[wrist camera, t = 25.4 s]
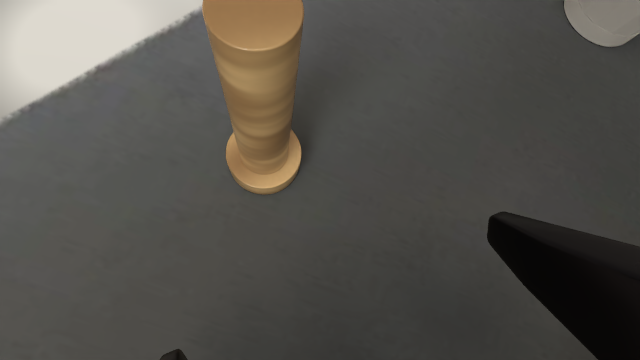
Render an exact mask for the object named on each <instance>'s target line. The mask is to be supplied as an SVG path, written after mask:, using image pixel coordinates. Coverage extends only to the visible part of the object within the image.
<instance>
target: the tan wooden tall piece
mask: <svg viewBox="0 0 640 360" xmlns="http://www.w3.org/2000/svg"><path fill="white" fill-rule="evenodd" d="M202 11H203V17H204V21H205V24H206V28H207V32H208V36H209V40H210V44H211V47H212V51H213V55H214V59H215V63H216V66H217V70H218V74H219V78H220V82H221V85H222V89H223V93H224V97H225V101H226V104H227V108H228V112H229V116H230V120H231V123H232V127H233V131H234V132H233V134H232V135H231V137H230V139H229V141H228V143H227V147H226V160H227V164H228V166H229V169H230V171H231V174H232V176H233V178H234V179H235V181H236V182H237V183H238V184H239V185H240V186H241V187H243V188H244V189H246V190H248V191H250V192H252V193H256V194H272V193H276V192H279V191H281V190H283V189H284V188H286V187H287V186H288V185H289V184H291V182H292V181H293V180H294V179H295V177H296V175H297V173H298V170H299V166H300V161H301V146H300V143H299V140H298V138H297V136H296V135H295V133H294V132H293V131H292V130H291V124H292V115H293V106H294V98H295V89H296V80H297V72H298V63H299V55H300V46H301V37H302V29H303V20H304V7H303V3H302V0H203V4H202Z"/></svg>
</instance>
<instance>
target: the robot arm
mask: <svg viewBox="0 0 640 360" xmlns="http://www.w3.org/2000/svg"><path fill="white" fill-rule="evenodd" d="M487 239H488V242H489V244H490V245H491V246H492V248H493V249H494V250H495V251H496V252H497V254H498V255H499V256H500V257H501V259H502V260H503V261H504V262H505V263H506V265H507V266H508V267H509V268H510V269H511V271H512V272H513V273H514V274H515V275H516V277H517V278H518V279H519V280H520V281H521V282H522V284H523V285H524V286H525V287H526V288H527V289H528V290H529V291H530V292H531V293H532V294H533V295H534V296H535V297H536V298H537V299H538V300H539V301H540V302H541V303H542V304H543V305H544V306H545V307H546V308H547V309H548V310H549V311H550V312H551V313H552V314H553V315H554V316H555V317H556V318H557V319H558V320H559V321H560V322H561V323H562V324H563V325H564V326H565V327H566V328H567V329H568V330H569V331H570V332H571V333H572V334H573V335H574V336H575V337H576V338H577V339H578V340H579V341H580V342H581V343H582V344H583V345H584V346H585V347H586V348H587V349H588V350H589V351H590V352H591V353H592V354H593V355H594V356H595V357H596V358H597V359H598V360H640V247H639V246H635V245H631V244H627V243H623V242H619V241H616V240H612V239H608V238H604V237H600V236H596V235H593V234H589V233H585V232H581V231H577V230H573V229H570V228H566V227H562V226H558V225H554V224H550V223H547V222H543V221H539V220H535V219H531V218H527V217H524V216H520V215H516V214H512V213H508V212H499V213H497V214H494V215H492V216H491V217H490V218H489V223H488V233H487ZM160 360H187V358H186V356H185V355H184V353H183V352H182V351H181V350H180V349H176V350H173V351H171V352H169V353H166V354H164V355H163V356H162V357H161V358H160Z"/></svg>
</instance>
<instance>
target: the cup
mask: <svg viewBox="0 0 640 360" xmlns="http://www.w3.org/2000/svg"><path fill="white" fill-rule="evenodd" d="M564 9H565V13H566V16H567V18H568V20H569V22H570V23H571V25H572V26H573V27H574V29H575V30H576V31H577V32H578V33H579V34H580V35H582V36H583V37H584V38H586V39H587V40H589V41H591V42H593V43H595V44H598V45H601V46H606V47H616V46H620V45H623V44H625V43H626V42H628V41H629V40H631V39H632V38H634V37H635V36H636V35H638V34H639V33H640V0H564Z"/></svg>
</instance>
